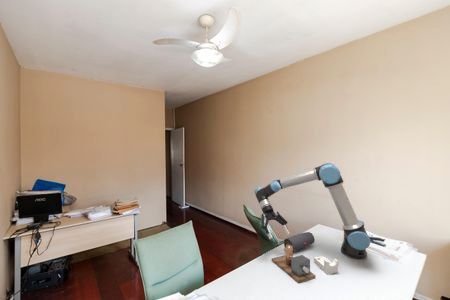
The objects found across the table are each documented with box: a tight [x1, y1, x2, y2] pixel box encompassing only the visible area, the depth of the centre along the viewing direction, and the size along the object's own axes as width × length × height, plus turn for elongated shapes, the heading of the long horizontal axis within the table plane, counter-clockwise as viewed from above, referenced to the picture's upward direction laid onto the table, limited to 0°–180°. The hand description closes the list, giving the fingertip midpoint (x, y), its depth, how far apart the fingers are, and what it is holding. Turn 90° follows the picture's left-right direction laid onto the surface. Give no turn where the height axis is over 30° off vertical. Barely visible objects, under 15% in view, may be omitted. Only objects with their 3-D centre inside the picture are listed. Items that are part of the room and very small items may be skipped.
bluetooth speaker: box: [283, 231, 316, 252], centre depth 149 cm, size 23×9×10 cm, turn 120°
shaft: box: [285, 245, 311, 273], centre depth 121 cm, size 17×5×10 cm, turn 23°
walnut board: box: [271, 254, 316, 284], centre depth 124 cm, size 24×12×2 cm, turn 23°
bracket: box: [313, 256, 339, 276], centre depth 126 cm, size 13×7×8 cm, turn 9°
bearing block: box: [291, 254, 311, 277], centre depth 118 cm, size 6×8×8 cm
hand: (279, 236), depth 135 cm, fingers open, 13 cm apart
